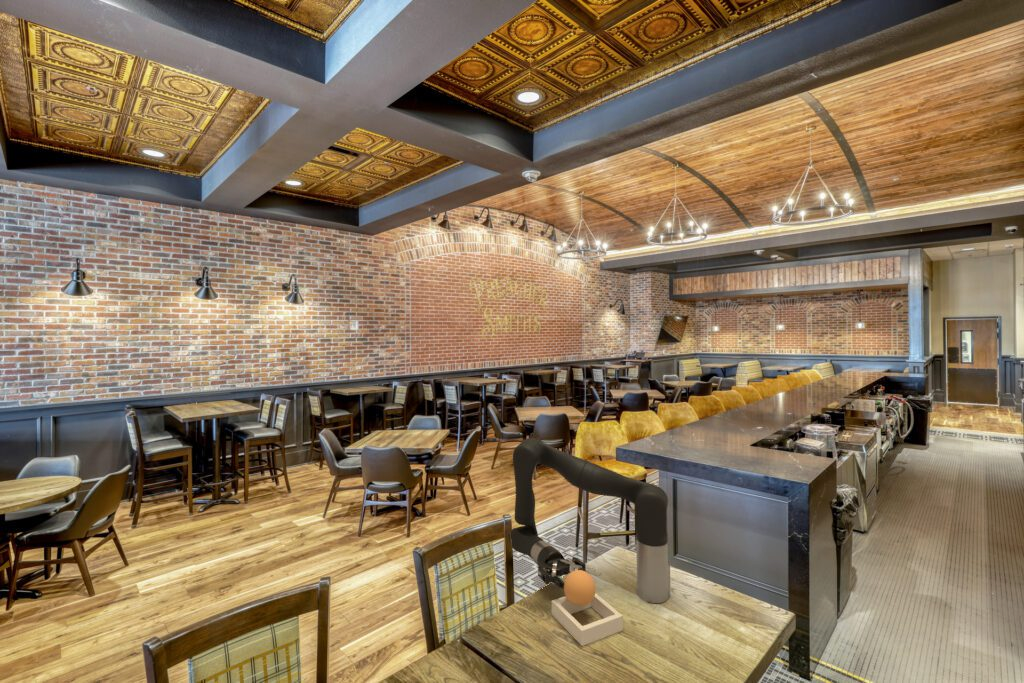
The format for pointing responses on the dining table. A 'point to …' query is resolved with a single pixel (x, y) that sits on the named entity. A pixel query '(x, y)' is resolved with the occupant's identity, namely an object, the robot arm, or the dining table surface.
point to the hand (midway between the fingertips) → (575, 581)
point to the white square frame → (593, 630)
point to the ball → (579, 587)
